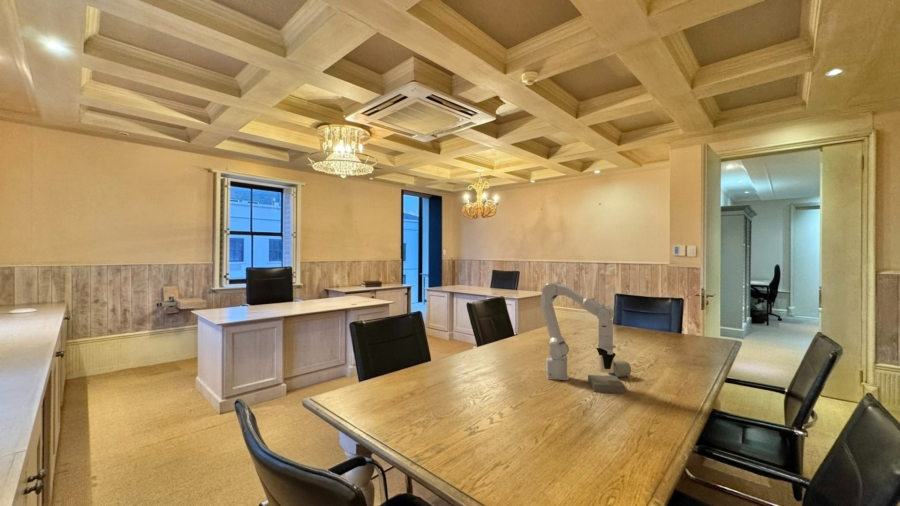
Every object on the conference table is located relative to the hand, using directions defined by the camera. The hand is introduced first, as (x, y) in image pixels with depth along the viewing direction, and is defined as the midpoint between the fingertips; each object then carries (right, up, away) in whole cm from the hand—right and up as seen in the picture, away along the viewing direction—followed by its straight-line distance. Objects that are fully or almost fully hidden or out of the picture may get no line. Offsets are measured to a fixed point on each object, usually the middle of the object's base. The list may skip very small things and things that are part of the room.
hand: (605, 366), depth 157 cm
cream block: (0, -2, 0) cm, 2 cm away
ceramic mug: (+12, -9, +15) cm, 21 cm away
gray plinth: (0, -9, 0) cm, 9 cm away
